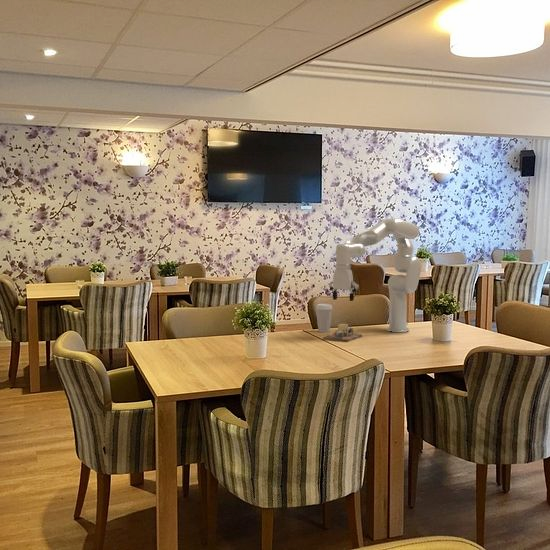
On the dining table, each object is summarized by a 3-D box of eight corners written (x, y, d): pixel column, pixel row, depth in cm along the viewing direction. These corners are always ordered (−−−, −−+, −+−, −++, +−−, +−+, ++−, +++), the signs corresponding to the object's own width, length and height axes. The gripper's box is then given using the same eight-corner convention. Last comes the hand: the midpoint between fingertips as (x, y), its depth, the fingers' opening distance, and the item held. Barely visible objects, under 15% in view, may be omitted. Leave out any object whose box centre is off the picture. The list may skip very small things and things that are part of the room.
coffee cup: (312, 330, 352) (312, 304, 350) (327, 329, 356) (327, 303, 354) (320, 333, 343) (320, 306, 342) (335, 332, 347) (335, 305, 346)
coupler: (340, 334, 332) (341, 323, 332) (348, 335, 330) (348, 324, 329) (337, 335, 329) (337, 324, 329) (345, 336, 327) (345, 325, 326)
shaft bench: (338, 334, 341) (339, 325, 341) (362, 336, 333) (362, 328, 333) (322, 339, 326) (322, 330, 326) (346, 342, 318) (347, 333, 318)
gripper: (325, 267, 328) (325, 299, 330) (355, 268, 319) (355, 302, 320) (332, 266, 334) (332, 298, 336) (361, 267, 325) (361, 300, 326)
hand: (343, 300), depth 328 cm, fingers open, 9 cm apart
